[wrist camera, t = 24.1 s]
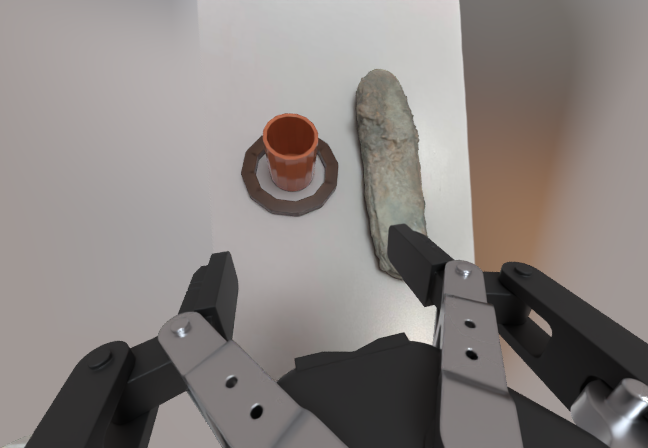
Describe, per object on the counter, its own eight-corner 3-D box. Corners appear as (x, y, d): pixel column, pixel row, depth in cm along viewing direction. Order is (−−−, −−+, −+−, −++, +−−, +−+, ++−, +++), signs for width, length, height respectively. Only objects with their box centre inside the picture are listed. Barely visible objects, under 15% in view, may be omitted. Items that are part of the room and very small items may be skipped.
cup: (279, 197, 36) (275, 166, 28) (263, 161, 38) (254, 122, 30) (320, 182, 38) (326, 149, 30) (303, 148, 39) (305, 107, 31)
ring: (264, 229, 35) (263, 227, 33) (231, 149, 38) (229, 144, 37) (351, 195, 38) (353, 192, 36) (314, 123, 41) (314, 118, 40)
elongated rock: (361, 281, 35) (426, 279, 37) (374, 280, 30) (449, 277, 32) (346, 77, 44) (399, 82, 45) (355, 49, 39) (414, 56, 40)
